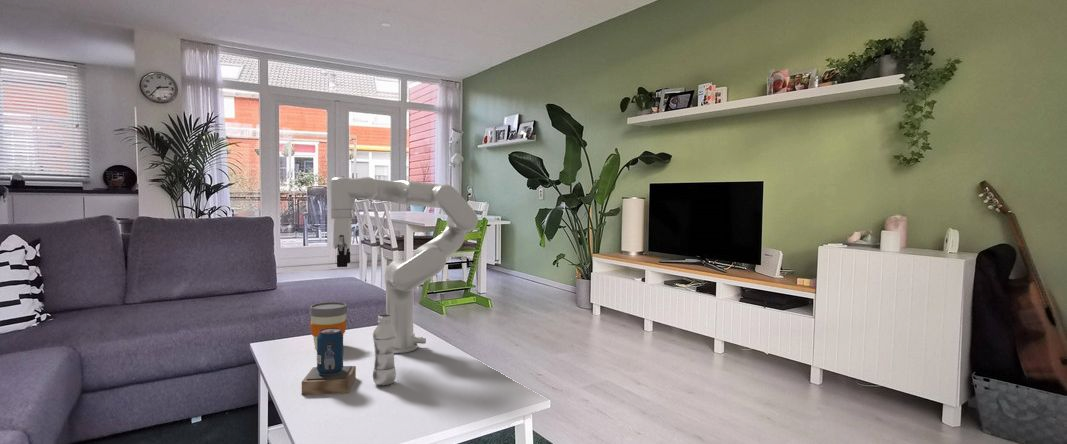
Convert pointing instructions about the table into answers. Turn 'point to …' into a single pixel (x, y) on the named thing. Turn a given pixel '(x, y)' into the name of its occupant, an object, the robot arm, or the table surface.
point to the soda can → (329, 351)
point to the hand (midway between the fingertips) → (343, 265)
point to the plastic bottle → (384, 351)
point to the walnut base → (329, 381)
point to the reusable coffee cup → (327, 317)
